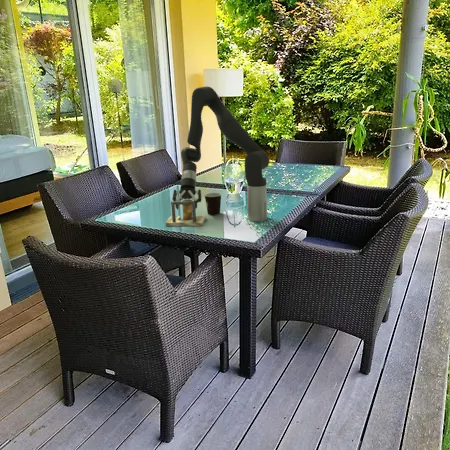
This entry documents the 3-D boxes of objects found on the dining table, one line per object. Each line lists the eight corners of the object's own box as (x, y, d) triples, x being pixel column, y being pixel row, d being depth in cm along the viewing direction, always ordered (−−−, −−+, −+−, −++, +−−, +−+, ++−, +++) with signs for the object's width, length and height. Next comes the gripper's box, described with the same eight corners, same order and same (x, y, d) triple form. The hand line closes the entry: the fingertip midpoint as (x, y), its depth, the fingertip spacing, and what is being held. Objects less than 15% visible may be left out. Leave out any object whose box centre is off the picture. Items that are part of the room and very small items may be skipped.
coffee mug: (206, 211, 235) (205, 193, 232) (222, 210, 234) (221, 192, 231) (204, 217, 224) (203, 198, 220) (221, 217, 223) (220, 198, 220)
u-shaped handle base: (205, 218, 222) (204, 196, 218) (202, 225, 211) (201, 201, 208) (170, 219, 224) (168, 196, 220) (165, 225, 213) (163, 202, 210)
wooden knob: (194, 218, 223) (193, 199, 219) (192, 222, 217) (191, 202, 214) (183, 218, 223) (182, 199, 220) (181, 222, 218) (179, 202, 215)
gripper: (173, 177, 222) (170, 205, 215) (201, 176, 221) (199, 205, 214) (176, 185, 229) (173, 212, 222) (203, 184, 228) (201, 212, 220)
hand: (186, 208), depth 218 cm, fingers open, 8 cm apart
